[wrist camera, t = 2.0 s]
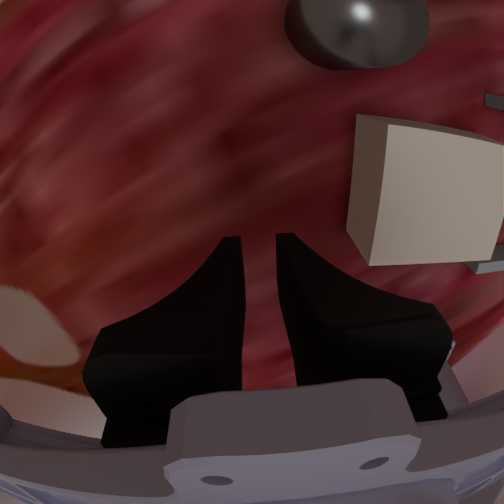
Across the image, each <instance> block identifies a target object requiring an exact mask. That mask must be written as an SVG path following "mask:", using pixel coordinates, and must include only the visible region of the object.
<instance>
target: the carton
mask: <svg viewBox="0 0 504 504" xmlns="http://www.w3.org/2000/svg"><path fill="white" fill-rule="evenodd" d="M503 217H504V144H503V143H501V142H498V141H496V140H493V139H491V138H488V137H485V136H483V135H480V134H477V133H474V132H469V131H465V130H460V129H455V128H450V127H445V126H440V125H435V124H429V123H423V122H417V121H411V120H404V119H397V118H389V117H381V116H373V115H363V114H356V130H355V145H354V158H353V169H352V180H351V190H350V200H349V209H348V217H347V225H346V231H347V232H348V234H349V235H350V237H351V238H352V240H353V242H354V243H355V245H356V246H357V248H358V249H359V251H360V253H361V254H362V256H363V258H364V259H365V261H366V262H367V264H368V266H379V265H402V264H424V263H445V262H464V261H482V260H490V259H491V256H492V253H493V250H494V247H495V244H496V241H497V238H498V234H499V231H500V227H501V224H502V220H503Z"/></svg>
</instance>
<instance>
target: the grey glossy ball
mask: <svg viewBox="0 0 504 504" xmlns="http://www.w3.org/2000/svg"><path fill="white" fill-rule="evenodd" d="M285 29H286V32H287V35H288V38H289V40H290V42H291V43H292V45H293V46H294V48H295V49H296V50H297V51H298V52H299V53H300V54H301V55H302V56H303V57H304V58H305V59H307V60H308V61H310V62H311V63H313V64H315V65H317V66H320V67H322V68H326V69H330V70H351V69H363V68H378V67H391V66H396V65H399V64H402V63H404V62H406V61H408V60H410V59H411V58H413V57H414V56H415V55H416V54H417V53H418V52H419V51H420V50H421V48H422V47H423V45H424V43H425V41H426V39H427V35H428V31H429V13H428V8H427V5H426V2H425V0H290V2H289V4H288V6H287V9H286V12H285Z"/></svg>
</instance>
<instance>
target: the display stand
mask: <svg viewBox="0 0 504 504" xmlns="http://www.w3.org/2000/svg"><path fill="white" fill-rule="evenodd" d="M485 106H488V107H492V108H496V109H500V110H504V97H503V96H498V95H493V94H488V93H485ZM464 262H465V263H466V264H467V265H468V266H469V267H470V268H471V270H472V271H473V272H474V273H475V274H481V273H488V272H494V271H501V270H504V245H495V247H494V250H493V253H492V256H491V259H490V260H482V261H464Z"/></svg>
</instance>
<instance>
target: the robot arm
mask: <svg viewBox="0 0 504 504" xmlns="http://www.w3.org/2000/svg"><path fill="white" fill-rule="evenodd" d="M276 261H277V286H278V294H279V302H280V307H281V311H282V315H283V318H284V322H285V326H286V330H287V334H288V338H289V342H290V346H291V350H292V355H293V360H294V367H295V374H296V382H297V386H295V387H285V388H273V389H258V390H242V346H243V334H244V323H245V310H246V297H245V278H244V267H243V255H242V244H241V236H234V237H224V238H223V239H222V240H221V241H220V242H219V244H218V245H217V247H216V248H215V249H214V251H213V252H212V253H211V255H210V256H209V257H208V258H207V260H206V261H205V262H204V263H203V264H202V266H201V267H200V268H199V269H198V270H197V271H196V272H195V273H194V274H193V275H192V276H191V277H190V278H189V279H188V280H187V281H186V282H185V283H183V284H182V285H181V286H180V287H179V288H177V289H176V290H175V291H173V292H172V293H170V294H169V295H168V296H166V297H165V298H163V299H162V300H160V301H159V302H157V303H156V304H154V305H152V306H150V307H149V308H147V309H145V310H143V311H141V312H139V313H137V314H135V315H133V316H131V317H129V318H127V319H124V320H122V321H119V322H117V323H114V324H112V325H109V326H107V327H104V328H101V330H100V332H99V334H98V336H97V338H96V340H95V342H94V344H93V346H92V349H91V351H90V354H89V356H88V359H87V361H86V364H85V366H84V369H83V371H82V377H83V382H84V384H85V386H86V388H87V390H88V392H89V393H90V395H91V396H92V398H93V399H94V401H95V402H96V404H97V405H98V406H99V408H100V409H101V411H102V412H103V414H104V415H105V416H106V418H107V420H106V424H105V427H104V431H103V435H102V438H101V439H98V438H92V437H86V436H81V435H75V434H70V433H66V432H61V431H57V430H52V429H47V428H44V427H40V426H36V425H32V424H29V423H25V422H21V421H18V420H14V419H12V417H11V416H10V414H9V413H8V412H7V411H6V410H5V409H4V408H3V407H2V406H1V405H0V491H1V492H3V493H5V494H7V495H9V496H11V497H13V498H15V499H17V500H19V501H22V502H24V503H26V504H497V503H498V501H499V499H500V498H501V496H502V495H503V493H504V390H502V391H500V392H497V393H495V394H493V395H490V396H488V397H485V398H483V399H480V400H477V401H475V402H472V403H469V402H468V399H467V398H466V396H465V394H464V392H463V390H462V388H461V386H460V384H459V382H458V380H457V378H456V377H455V375H454V373H453V371H452V369H451V367H450V366H449V364H448V362H447V361H448V359H449V357H450V355H451V352H452V350H453V348H454V346H455V344H456V342H455V341H454V340H452V332H451V330H450V327H449V326H448V324H447V323H446V321H445V320H444V318H443V317H442V315H441V314H440V312H439V311H438V309H437V308H436V307H435V305H434V304H431V303H426V302H422V301H417V300H413V299H408V298H404V297H401V296H398V295H394V294H391V293H388V292H385V291H382V290H380V289H377V288H375V287H372V286H370V285H368V284H365V283H363V282H361V281H359V280H357V279H355V278H353V277H351V276H349V275H348V274H346V273H344V272H342V271H341V270H339V269H337V268H336V267H334V266H333V265H332V264H330V263H329V262H327V261H326V260H324V259H323V258H322V257H320V256H319V255H318V254H317V253H315V252H314V251H313V250H312V249H311V248H309V247H308V246H307V245H306V244H305V243H304V242H303V241H302V240H300V239H299V238H298V237H297V236H296V235H295V234H294V233H279V234H276Z"/></svg>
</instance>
